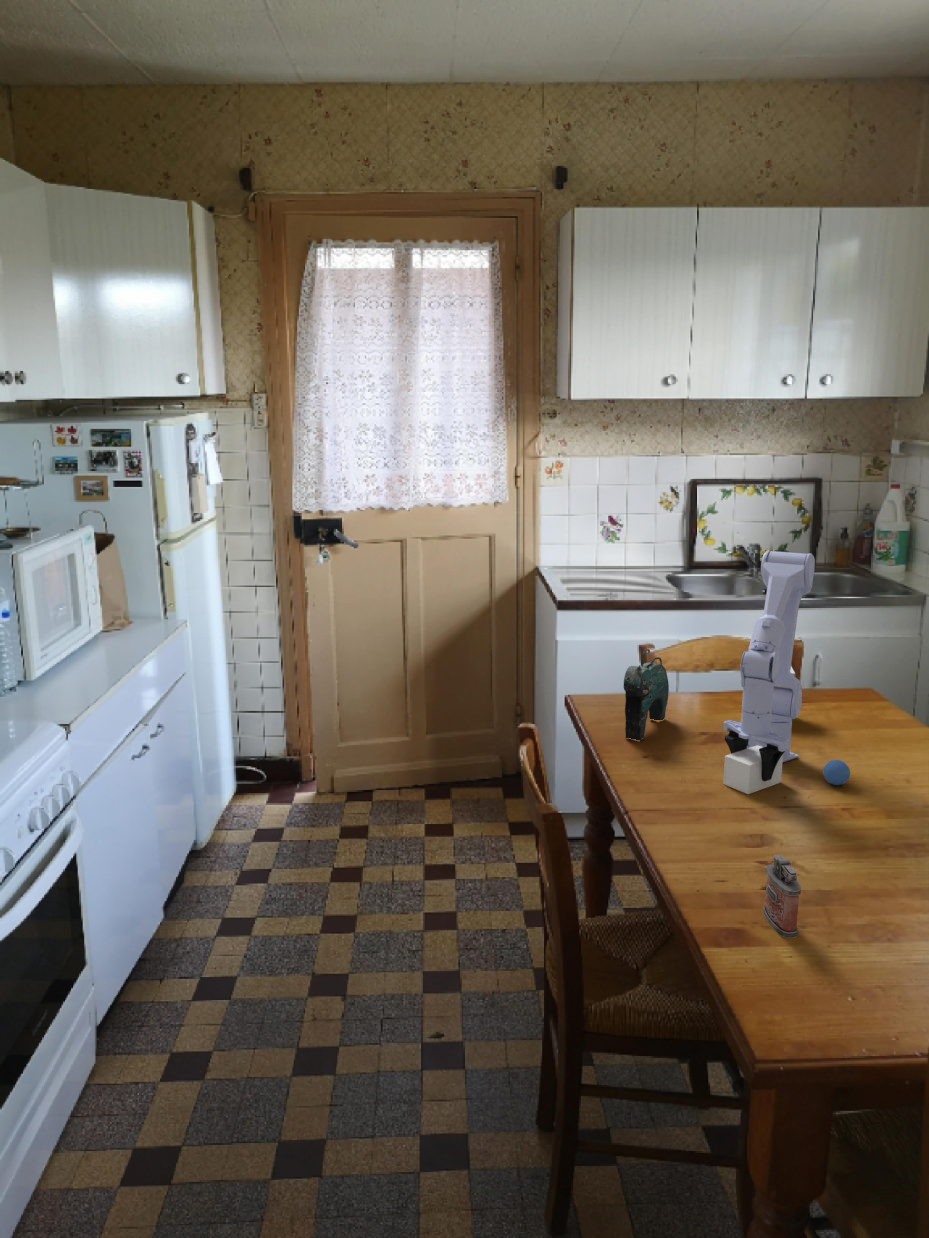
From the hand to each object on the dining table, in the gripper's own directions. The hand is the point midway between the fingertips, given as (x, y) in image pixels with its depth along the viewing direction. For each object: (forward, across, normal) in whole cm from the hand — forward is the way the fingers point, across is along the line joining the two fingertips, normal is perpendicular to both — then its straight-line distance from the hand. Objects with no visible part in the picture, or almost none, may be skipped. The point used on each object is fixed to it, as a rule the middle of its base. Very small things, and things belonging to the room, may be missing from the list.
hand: (752, 774), depth 190 cm
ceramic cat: (+2, -35, +5) cm, 35 cm away
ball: (-1, +10, +13) cm, 16 cm away
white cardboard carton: (+2, 0, 0) cm, 2 cm away
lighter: (+2, +36, -38) cm, 52 cm away
